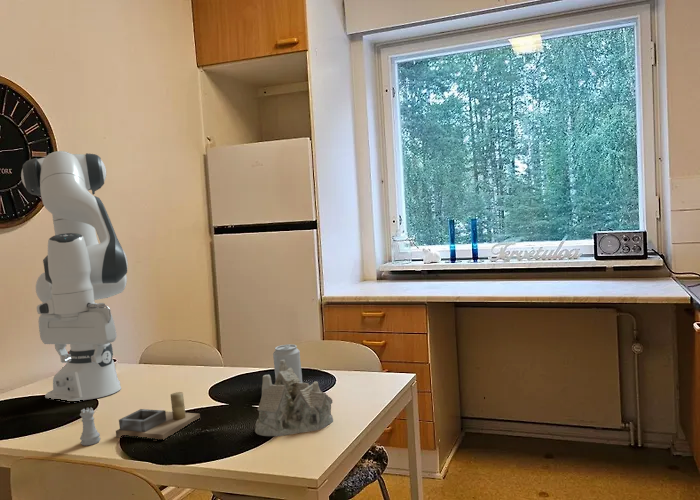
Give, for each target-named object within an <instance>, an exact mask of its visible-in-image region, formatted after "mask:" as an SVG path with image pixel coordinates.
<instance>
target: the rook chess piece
mask: <svg viewBox="0 0 700 500" xmlns="http://www.w3.org/2000/svg"><path fill="white" fill-rule="evenodd" d="M94 414H95V410H94V409H93V408H92V407H90V408H89V407H86V409H85V408H82V409H81V410H80V413H79V416H80V417H81V422H82V432H81V435H80V438H79V439H80V442H79V443H80V445H82V446H85V447H87V446H93V445H95V444H98V443H99V442H100V440H101V439H102V438H101V437H100V436H101V434H100V432H98V429H97V428H96V426H95V421H94V420H95V417H94Z"/></svg>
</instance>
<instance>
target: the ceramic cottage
mask: <svg viewBox="0 0 700 500" xmlns="http://www.w3.org/2000/svg"><path fill="white" fill-rule="evenodd" d="M279 371H280V372H278V376H277V379H275V382H274V384H273V381H272V377H271V375H270V374H264V375H263V376H262V385H261V398H260V402H259V404H258V408H256V410H257V411H258V418H257V419H256V421H255V429H254V432H255V434H257V435H259V436H263V437H283V436H287V435H288V436H289V435H295V434H300V433H307V432H313V431H314V432H315V431H319V430H323V429H324V428H326V427H328V426H329V425H331V424H332V423H333V422H334V417H333V415H332V412H331V411H332V404H333V399H332V397H331V396H329V395H328V394H327V393H326V392H322V390H321V389H320V386H319V382H318V381H314V382H312V383H311V384H309V383H307V382H302V383H299V382H300V380H299V378H298V377H297V375H296V374H295V373H294V371H293V369H292V368H289V369H288V367H287V364H286V362H285V360H280V365H279Z"/></svg>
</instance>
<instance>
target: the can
mask: <svg viewBox="0 0 700 500" xmlns="http://www.w3.org/2000/svg"><path fill="white" fill-rule="evenodd" d="M297 347H298V346H297V345H296V344H290V343H289V344H280V345H278V346H276V347H275V348H274V351H273V353H272V355H273V365H274V366H273V367H274V375H275V376H274V378H275V379H274V380H276V379H277V376H278V372H280V371H279V365H280V360H285V362H286V364H287V367H288V369H289V368H292V369H293V371H294V373H295V374H296V375H297V377H298V378H299V380H300V382H299V383H303V373H302V365H301V363H302V362H301V355H300V349H298V348H297Z"/></svg>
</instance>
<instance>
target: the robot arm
mask: <svg viewBox="0 0 700 500" xmlns="http://www.w3.org/2000/svg"><path fill="white" fill-rule="evenodd" d="M106 168H107V167H106V165H105V163H104V160H102V158H101V157H100V156H99V154H97V153H96V154H94V153H85V154H83V153H82V154H80V153H79V154H77V153H71V152H69V151H65V150H59V151H53V152H51V153H48V154H47V155H46V156H45V157H41V158H37V157H35V158H31V159H28V160H26V161H25V162H24V163H23V164H22V169H21V173H20V177H21V181H22V184H23V186H24V188H25V189H26V191H27V192H28V193H29V194H31V195H33V196H40V197H41V201H42V205H43V206H44V208H45V209H46V210H47V211H48V212H49V213H50V214H51V215H52V221H53V229H54V235H53V236H51V237H50V238H48V242H47V255H46V256H45V257H44V258H43V259H42V264H43V270H44V272H42V273H41V274H39V276H38V278H37V280H36V283H35V293H36V296H37V297H38V299H39V301H40V302H41V303H40V304H37V306H36V312H37V314H38V315H39V316H38V331H39V332H38V333H39V336H40V337H39V338H40V341H42V344H44V345H54V348H55V351H56V352H57V354H58V355H59V357H60V363H62V364H63V363H64V366H62V368H60V369H59V371H58V372H57V373H56V374H55V375H54V376H53V378H52V389H51V390H50V391H49V392H47V393H45V396H44V397H45V399H49V398H51V399H50V400H54V399H61V400H67V401H79V402H81V401H80V400H83V401H87V400H93V399H98V398H99V399H100V398H103V397H107V396H110V395H113V394H115V393H117V392H119V391H120V390H121V389H122V386H121V381H120V380H119V378H118V374H117V370H116V365H115V361H114V359H113V356H114V351H113V350H114V349H113V345H112V343H114V342H115V341H116V339H117V337H118V335H117V331H116V330H117V329H116V325H115V320H114V317H113V314H112V311H111V308H110V307H109V306H108V305H106V303H104V302H99V303H96V302H95V301H96V300H103V299H108V298H110V297H114V296H117V295H118V294H122V293H123V292H124V290H125V288H126V286H127V282H128V276H127V273H128V269H129V263H128V257H127V254H126V252H125V250H124V249H123V247H122V245H121V242H120V240H119V239H118V236H117V234H116V231H115V229H114V226H113V224H112V221H111V218H110V216H109V214H108V211H107V210H106V207H105V205H104V203H103V201H102V200H101V199H100V197H98V196H96V195H95V194H96V192H97V191H98V190H100V189H101V188H102V187H103V186H104V184H105V181H106V179H107V169H106ZM90 191H91V192H90ZM67 345H69V347H70V349H69V351H68V350H67V349H66V347H67Z"/></svg>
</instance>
